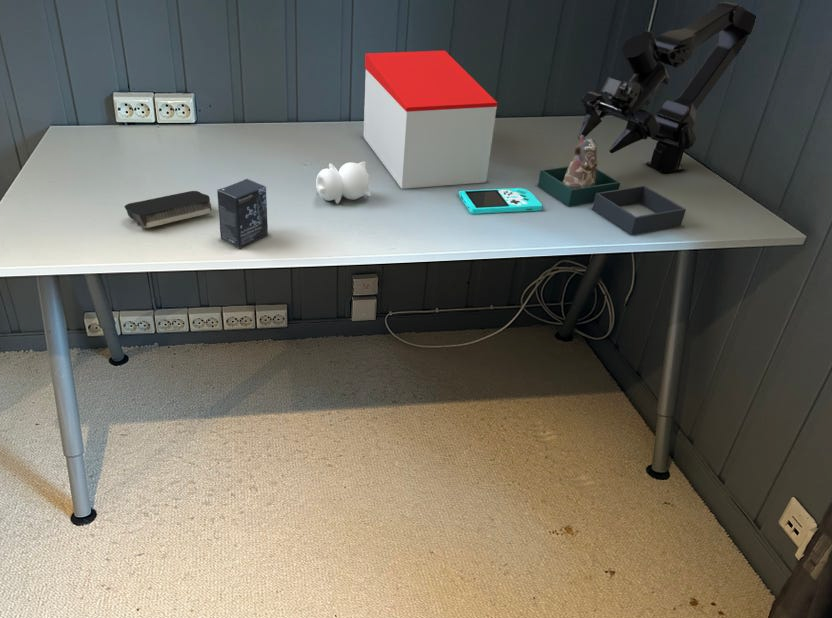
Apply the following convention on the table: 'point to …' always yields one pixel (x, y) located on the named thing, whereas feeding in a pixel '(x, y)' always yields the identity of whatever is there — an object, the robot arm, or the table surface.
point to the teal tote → (554, 185)
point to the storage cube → (427, 119)
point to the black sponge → (169, 208)
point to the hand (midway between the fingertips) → (594, 145)
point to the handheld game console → (499, 200)
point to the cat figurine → (343, 182)
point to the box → (242, 213)
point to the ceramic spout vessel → (582, 165)
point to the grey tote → (663, 218)
